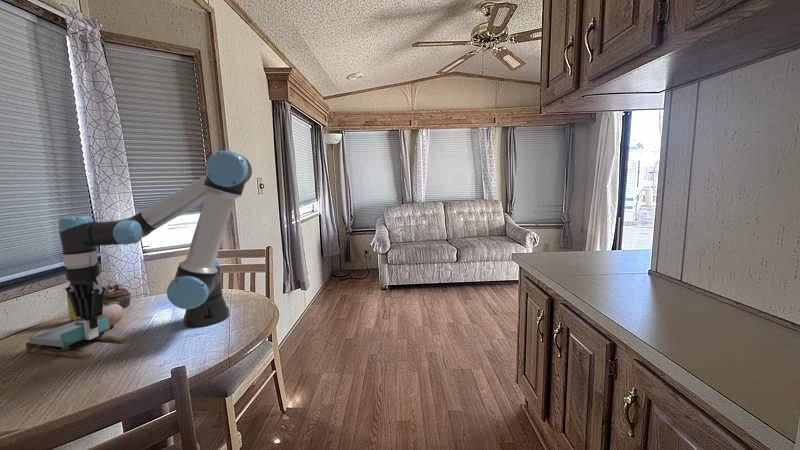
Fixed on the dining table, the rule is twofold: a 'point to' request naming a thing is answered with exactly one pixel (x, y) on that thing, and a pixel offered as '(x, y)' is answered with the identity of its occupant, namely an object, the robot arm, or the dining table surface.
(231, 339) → the dining table surface
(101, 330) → the shallow teal tray
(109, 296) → the cupcake
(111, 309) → the decorative fruit
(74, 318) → the sauce bottle
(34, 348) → the rails
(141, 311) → the dining table surface
